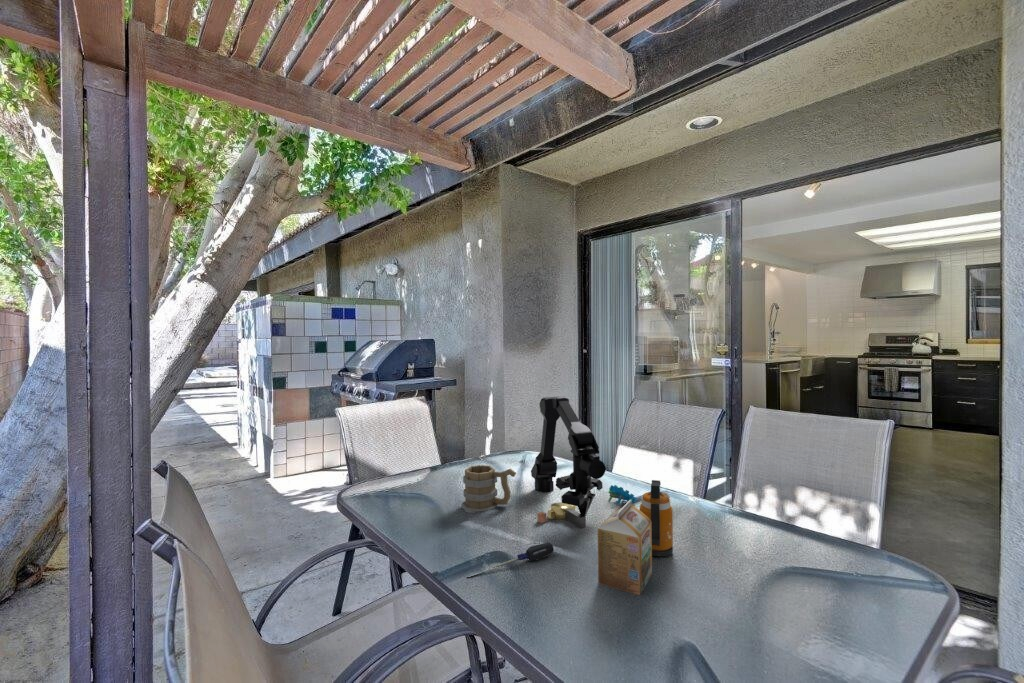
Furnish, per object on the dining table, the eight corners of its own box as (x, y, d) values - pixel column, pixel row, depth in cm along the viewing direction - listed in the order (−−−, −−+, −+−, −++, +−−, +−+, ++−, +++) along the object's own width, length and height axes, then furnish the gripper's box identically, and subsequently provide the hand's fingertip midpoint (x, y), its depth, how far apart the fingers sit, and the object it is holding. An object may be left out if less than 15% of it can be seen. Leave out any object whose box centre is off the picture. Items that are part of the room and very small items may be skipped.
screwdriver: (468, 581, 120) (468, 567, 120) (463, 575, 124) (463, 560, 124) (555, 558, 132) (555, 544, 132) (549, 552, 135) (549, 539, 135)
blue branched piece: (642, 501, 168) (626, 485, 165) (635, 516, 165) (619, 500, 162) (619, 496, 177) (603, 481, 174) (612, 510, 174) (596, 495, 171)
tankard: (456, 511, 166) (455, 469, 166) (472, 499, 178) (472, 460, 177) (508, 519, 159) (508, 475, 158) (522, 505, 170) (521, 464, 170)
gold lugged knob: (541, 513, 160) (540, 503, 160) (564, 507, 165) (564, 498, 165) (570, 531, 146) (570, 520, 145) (595, 523, 151) (595, 513, 150)
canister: (672, 545, 137) (672, 478, 137) (672, 564, 127) (672, 491, 126) (641, 541, 140) (640, 475, 140) (638, 559, 130) (637, 488, 129)
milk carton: (639, 595, 113) (639, 517, 112) (598, 583, 118) (597, 509, 118) (652, 575, 122) (651, 502, 121) (612, 564, 127) (612, 495, 127)
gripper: (572, 458, 163) (573, 502, 164) (545, 473, 148) (547, 522, 148) (602, 463, 157) (603, 509, 157) (578, 479, 141) (579, 530, 142)
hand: (583, 517), depth 151 cm, fingers closed
